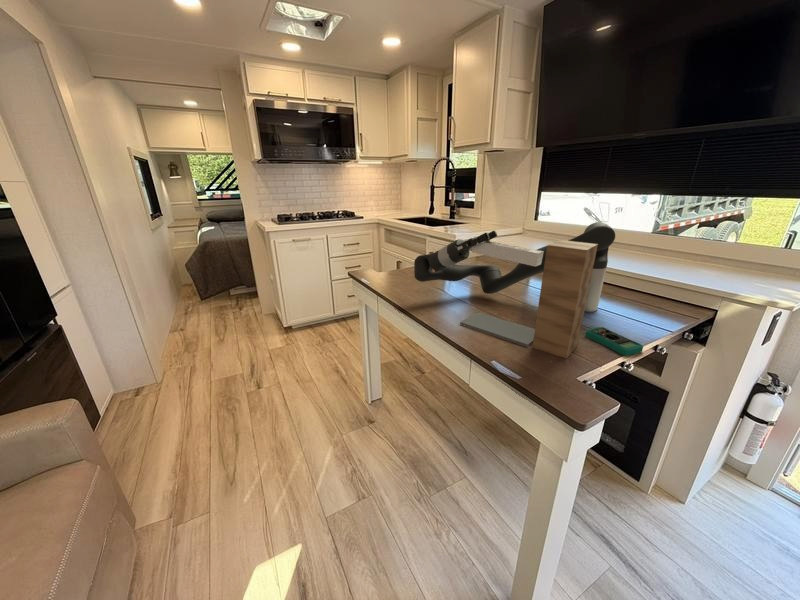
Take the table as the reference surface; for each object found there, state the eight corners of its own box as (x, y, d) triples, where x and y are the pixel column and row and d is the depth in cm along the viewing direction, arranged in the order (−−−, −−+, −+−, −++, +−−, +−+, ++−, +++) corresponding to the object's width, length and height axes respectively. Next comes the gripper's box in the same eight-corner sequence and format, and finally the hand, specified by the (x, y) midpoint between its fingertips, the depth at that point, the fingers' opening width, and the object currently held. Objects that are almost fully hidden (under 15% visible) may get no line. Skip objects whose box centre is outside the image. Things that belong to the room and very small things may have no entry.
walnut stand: (544, 336, 108) (560, 239, 96) (577, 346, 101) (597, 244, 90) (532, 347, 101) (547, 245, 90) (566, 358, 94) (587, 250, 83)
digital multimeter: (599, 332, 110) (601, 324, 109) (643, 353, 97) (645, 344, 96) (582, 336, 108) (584, 328, 107) (625, 358, 95) (627, 349, 94)
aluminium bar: (478, 250, 113) (479, 239, 111) (541, 264, 99) (543, 251, 97) (472, 252, 110) (473, 240, 109) (535, 266, 96) (538, 253, 95)
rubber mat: (477, 314, 125) (477, 312, 125) (542, 334, 109) (543, 331, 109) (460, 324, 117) (460, 321, 117) (527, 347, 101) (528, 344, 101)
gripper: (468, 259, 123) (506, 241, 110) (445, 266, 113) (485, 248, 101) (460, 241, 123) (498, 221, 110) (437, 247, 113) (476, 226, 101)
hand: (491, 234), depth 106 cm, fingers open, 4 cm apart
